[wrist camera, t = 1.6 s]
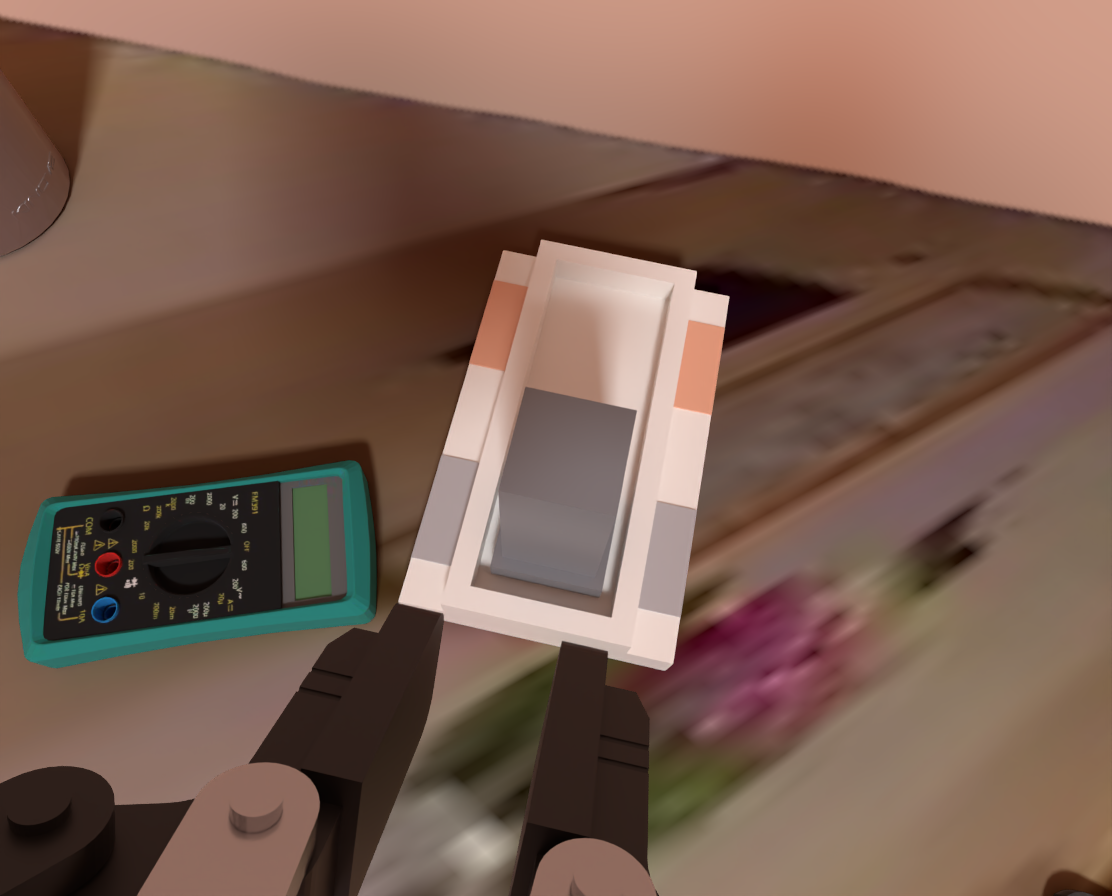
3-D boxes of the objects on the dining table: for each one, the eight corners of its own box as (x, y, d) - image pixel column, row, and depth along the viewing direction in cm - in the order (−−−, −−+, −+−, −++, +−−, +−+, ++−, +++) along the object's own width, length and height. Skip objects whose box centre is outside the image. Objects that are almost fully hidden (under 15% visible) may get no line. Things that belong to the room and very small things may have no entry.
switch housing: (404, 611, 36) (393, 593, 33) (504, 272, 44) (502, 231, 41) (665, 670, 36) (679, 658, 33) (720, 317, 43) (736, 279, 40)
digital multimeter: (54, 515, 38) (18, 494, 35) (372, 475, 40) (361, 452, 37) (39, 674, 35) (-1, 663, 32) (382, 624, 37) (372, 610, 34)
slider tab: (491, 573, 35) (482, 501, 27) (517, 469, 37) (517, 372, 29) (599, 598, 35) (625, 533, 26) (620, 491, 37) (650, 400, 28)
